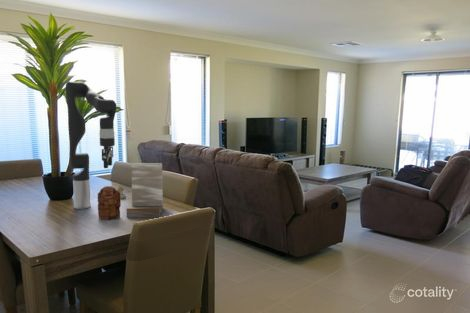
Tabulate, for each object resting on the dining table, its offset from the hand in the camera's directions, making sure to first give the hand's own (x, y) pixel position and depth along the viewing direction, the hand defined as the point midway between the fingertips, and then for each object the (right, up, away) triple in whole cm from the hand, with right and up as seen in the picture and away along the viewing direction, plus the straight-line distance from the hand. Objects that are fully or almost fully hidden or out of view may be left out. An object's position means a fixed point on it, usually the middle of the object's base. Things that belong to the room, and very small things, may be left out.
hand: (108, 166), depth 197 cm
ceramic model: (-12, -22, +51) cm, 57 cm away
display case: (+17, -27, +15) cm, 36 cm away
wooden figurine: (0, -29, +4) cm, 29 cm away
